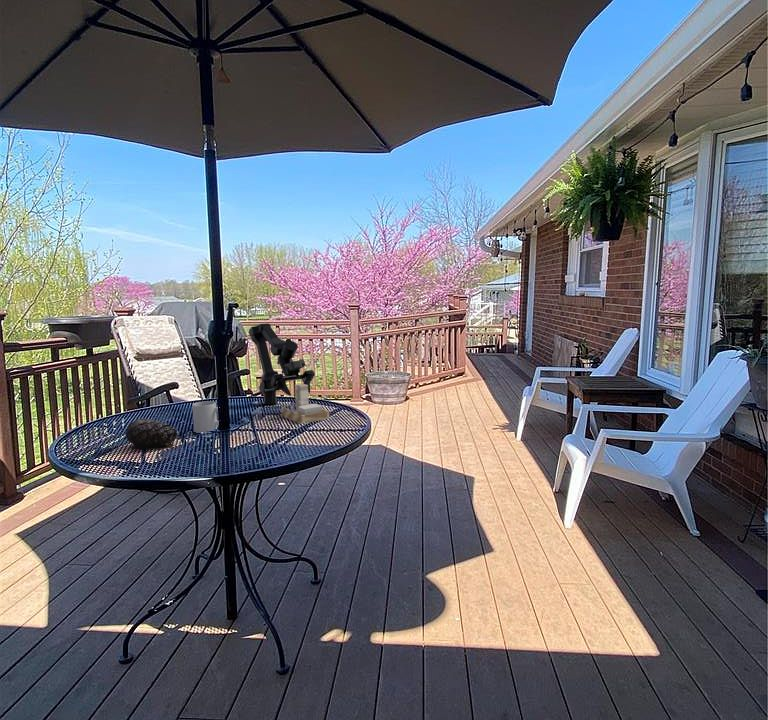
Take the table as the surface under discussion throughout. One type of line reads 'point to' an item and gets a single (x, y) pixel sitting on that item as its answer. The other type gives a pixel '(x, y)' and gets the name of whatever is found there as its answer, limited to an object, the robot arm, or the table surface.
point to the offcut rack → (304, 418)
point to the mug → (205, 416)
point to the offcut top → (309, 409)
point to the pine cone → (150, 434)
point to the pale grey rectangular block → (301, 395)
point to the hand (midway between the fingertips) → (300, 393)
